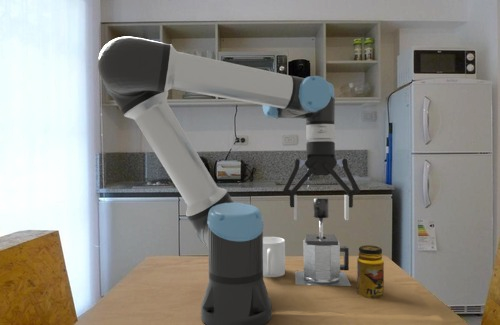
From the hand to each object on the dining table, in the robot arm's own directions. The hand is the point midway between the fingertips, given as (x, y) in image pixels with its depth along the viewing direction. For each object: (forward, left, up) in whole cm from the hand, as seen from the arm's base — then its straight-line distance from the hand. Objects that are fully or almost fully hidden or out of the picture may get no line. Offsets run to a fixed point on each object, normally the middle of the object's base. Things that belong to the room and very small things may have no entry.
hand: (320, 219), depth 99 cm
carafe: (+1, 0, -16) cm, 16 cm away
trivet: (0, 0, -17) cm, 17 cm away
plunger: (0, 0, -13) cm, 13 cm away
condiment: (+10, -10, -17) cm, 22 cm away
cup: (-14, +2, -17) cm, 22 cm away
